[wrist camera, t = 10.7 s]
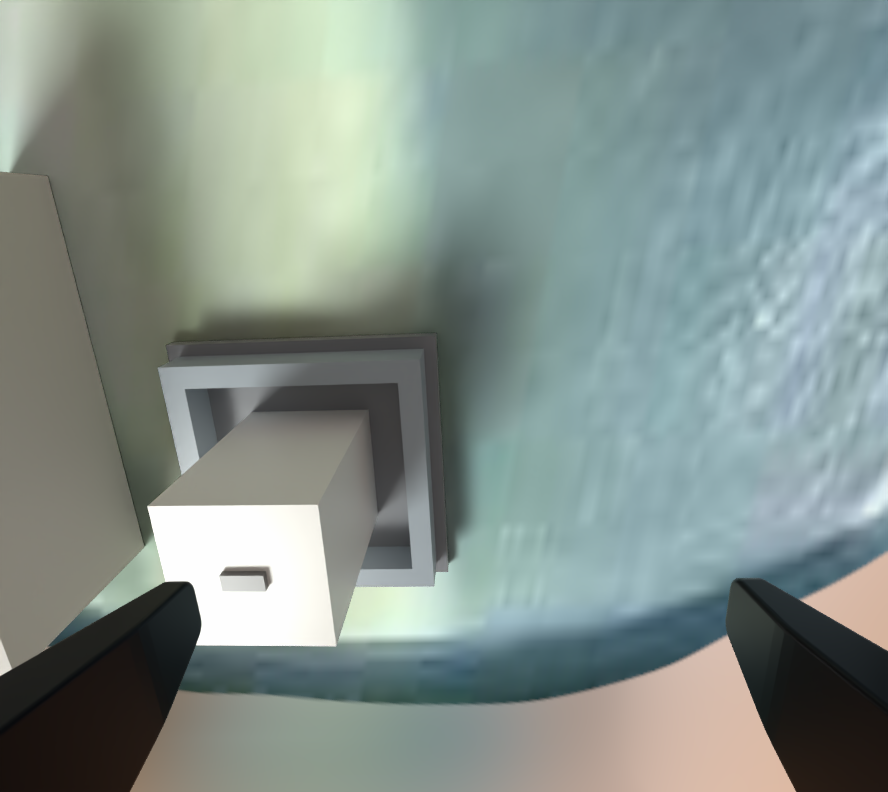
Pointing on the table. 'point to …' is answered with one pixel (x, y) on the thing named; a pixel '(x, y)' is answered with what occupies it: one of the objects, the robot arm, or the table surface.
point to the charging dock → (333, 388)
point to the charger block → (273, 527)
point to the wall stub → (51, 436)
